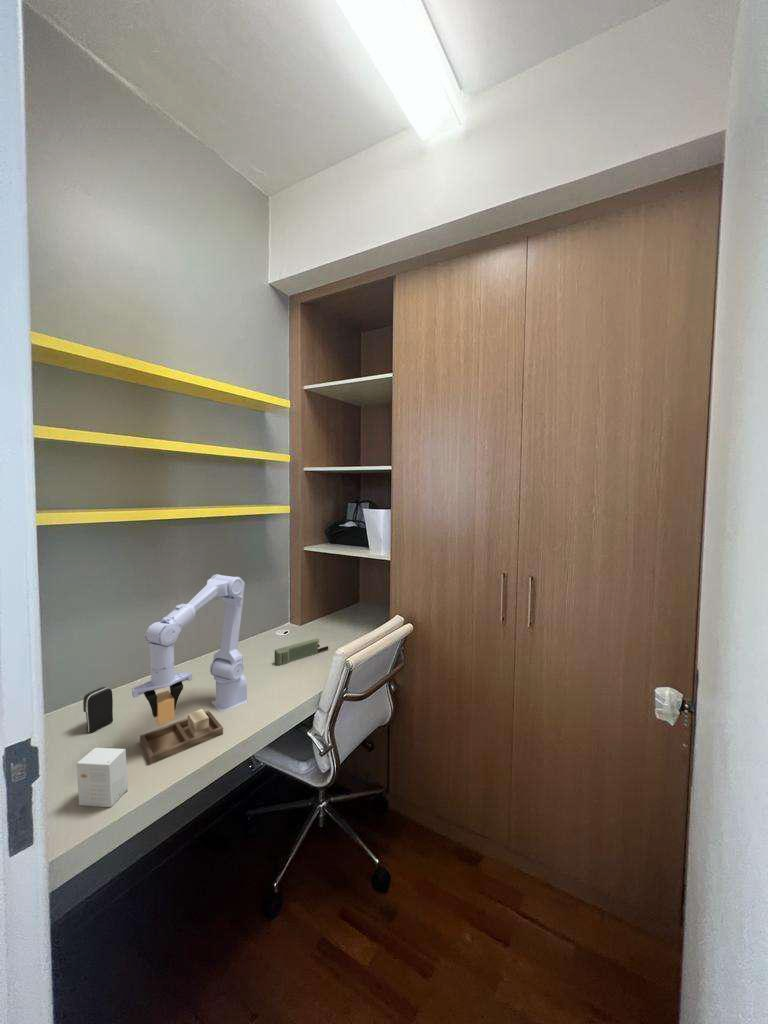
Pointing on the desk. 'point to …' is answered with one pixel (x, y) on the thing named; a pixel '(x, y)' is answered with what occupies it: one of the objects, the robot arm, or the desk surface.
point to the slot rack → (176, 739)
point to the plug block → (165, 707)
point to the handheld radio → (297, 651)
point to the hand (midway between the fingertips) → (164, 712)
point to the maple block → (198, 723)
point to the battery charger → (98, 708)
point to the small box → (102, 777)
